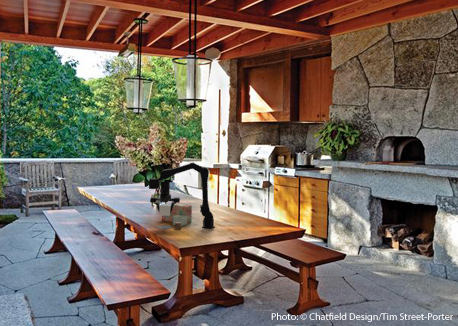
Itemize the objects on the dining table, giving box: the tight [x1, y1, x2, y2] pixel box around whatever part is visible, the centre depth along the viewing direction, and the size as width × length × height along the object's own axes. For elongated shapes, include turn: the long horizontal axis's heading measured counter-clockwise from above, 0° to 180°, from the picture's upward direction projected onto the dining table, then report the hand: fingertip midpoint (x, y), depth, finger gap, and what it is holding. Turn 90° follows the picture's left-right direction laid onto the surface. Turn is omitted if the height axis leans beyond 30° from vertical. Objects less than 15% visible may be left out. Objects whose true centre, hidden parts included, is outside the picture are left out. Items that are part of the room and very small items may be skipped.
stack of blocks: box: [161, 203, 193, 225], centre depth 291 cm, size 21×6×12 cm, turn 60°
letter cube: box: [174, 222, 182, 230], centre depth 270 cm, size 4×4×4 cm
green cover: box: [172, 214, 188, 227], centre depth 281 cm, size 7×7×6 cm
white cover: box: [158, 203, 171, 216], centre depth 271 cm, size 7×7×6 cm
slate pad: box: [154, 224, 175, 231], centre depth 272 cm, size 9×9×1 cm
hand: (165, 213), depth 271 cm, fingers closed on white cover, 7 cm apart
